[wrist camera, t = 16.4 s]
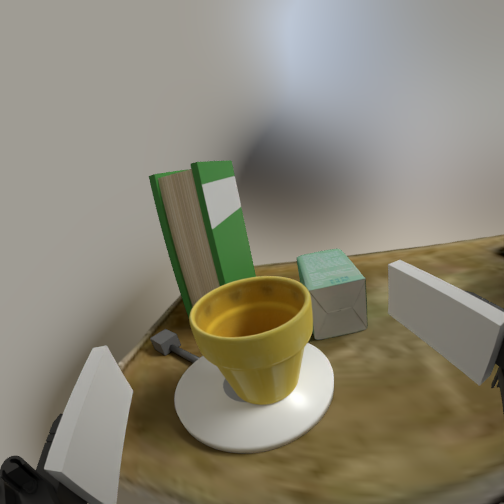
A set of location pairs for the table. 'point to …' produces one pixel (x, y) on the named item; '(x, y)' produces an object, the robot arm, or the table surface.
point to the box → (334, 293)
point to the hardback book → (203, 228)
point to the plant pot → (255, 334)
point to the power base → (247, 403)
